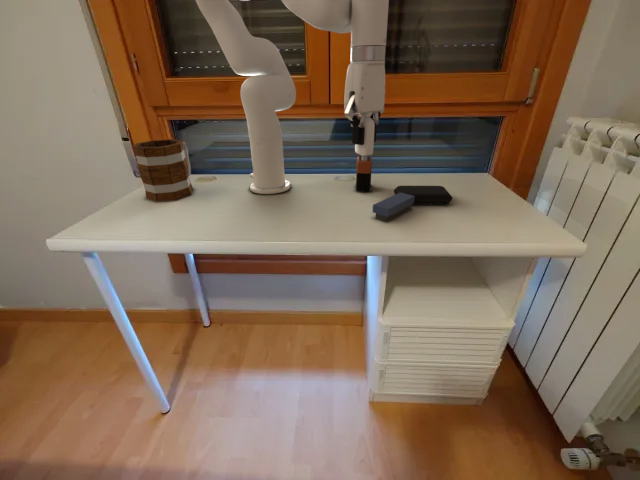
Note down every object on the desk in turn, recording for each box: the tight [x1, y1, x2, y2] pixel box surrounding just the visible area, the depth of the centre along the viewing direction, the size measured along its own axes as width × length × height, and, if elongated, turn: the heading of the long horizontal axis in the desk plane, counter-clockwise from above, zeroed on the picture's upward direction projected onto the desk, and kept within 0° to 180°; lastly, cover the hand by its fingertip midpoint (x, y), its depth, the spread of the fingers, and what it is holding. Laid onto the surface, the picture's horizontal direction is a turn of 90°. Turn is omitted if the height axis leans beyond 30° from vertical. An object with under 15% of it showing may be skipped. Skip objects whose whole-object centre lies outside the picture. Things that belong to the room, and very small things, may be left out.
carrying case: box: [393, 185, 454, 205], centre depth 89 cm, size 11×3×15 cm
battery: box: [355, 155, 373, 193], centre depth 96 cm, size 4×7×10 cm, turn 173°
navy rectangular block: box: [372, 193, 415, 223], centre depth 80 cm, size 12×4×4 cm, turn 136°
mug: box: [131, 138, 194, 203], centre depth 96 cm, size 20×14×15 cm
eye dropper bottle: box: [354, 112, 375, 156], centre depth 77 cm, size 4×6×12 cm
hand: (364, 142), depth 78 cm, fingers closed on eye dropper bottle, 4 cm apart
